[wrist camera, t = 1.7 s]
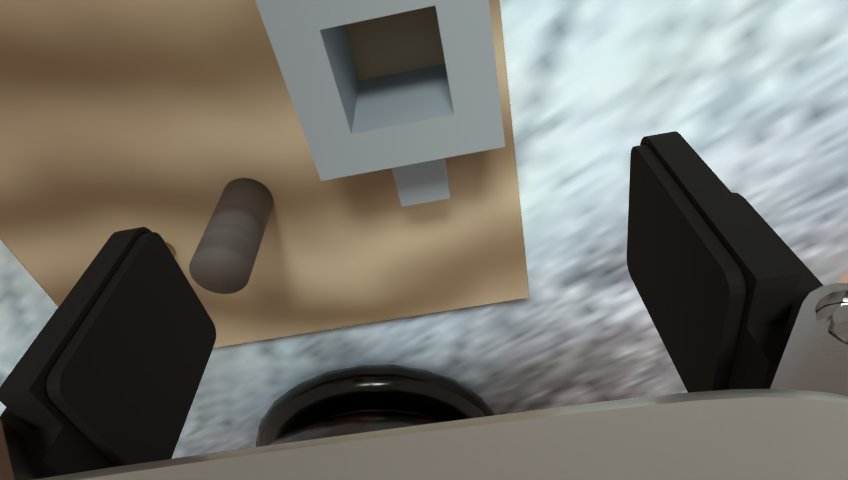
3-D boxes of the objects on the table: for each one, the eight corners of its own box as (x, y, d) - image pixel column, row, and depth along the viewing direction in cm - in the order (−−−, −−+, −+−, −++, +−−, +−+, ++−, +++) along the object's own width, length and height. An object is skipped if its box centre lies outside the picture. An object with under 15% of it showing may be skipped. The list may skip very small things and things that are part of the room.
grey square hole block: (278, -48, 19) (250, -14, 15) (465, -90, 18) (481, -66, 14) (353, 183, 24) (345, 247, 21) (496, 157, 24) (513, 217, 20)
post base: (-153, 20, 21) (-324, 85, 16) (482, -128, 18) (512, -105, 14) (116, 348, 32) (66, 444, 27) (525, 282, 30) (549, 373, 25)
